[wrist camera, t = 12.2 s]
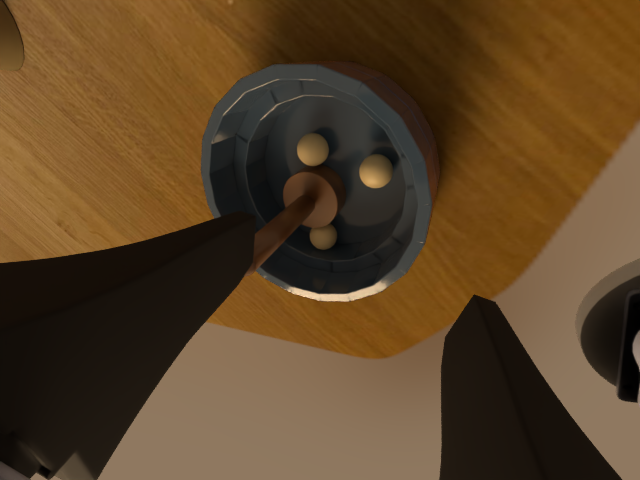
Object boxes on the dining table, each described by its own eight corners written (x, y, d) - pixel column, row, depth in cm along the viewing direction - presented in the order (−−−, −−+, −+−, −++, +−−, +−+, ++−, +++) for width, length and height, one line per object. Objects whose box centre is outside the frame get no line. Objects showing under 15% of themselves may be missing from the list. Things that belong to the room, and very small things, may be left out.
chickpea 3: (398, 178, 17) (392, 190, 16) (368, 184, 18) (360, 195, 17) (392, 147, 17) (385, 156, 15) (360, 154, 18) (351, 163, 16)
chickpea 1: (318, 146, 19) (339, 147, 18) (304, 170, 19) (324, 174, 18) (301, 125, 18) (322, 126, 17) (285, 151, 17) (306, 153, 16)
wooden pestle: (352, 213, 20) (286, 305, 13) (304, 220, 21) (222, 304, 14) (336, 158, 18) (252, 226, 11) (286, 170, 20) (185, 235, 13)
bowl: (453, 250, 19) (449, 302, 15) (287, 261, 25) (253, 300, 21) (419, 20, 14) (399, 8, 10) (224, 100, 20) (163, 112, 16)
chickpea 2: (342, 229, 21) (338, 254, 20) (317, 229, 22) (313, 253, 21) (334, 217, 19) (330, 243, 19) (308, 217, 20) (303, 243, 20)
